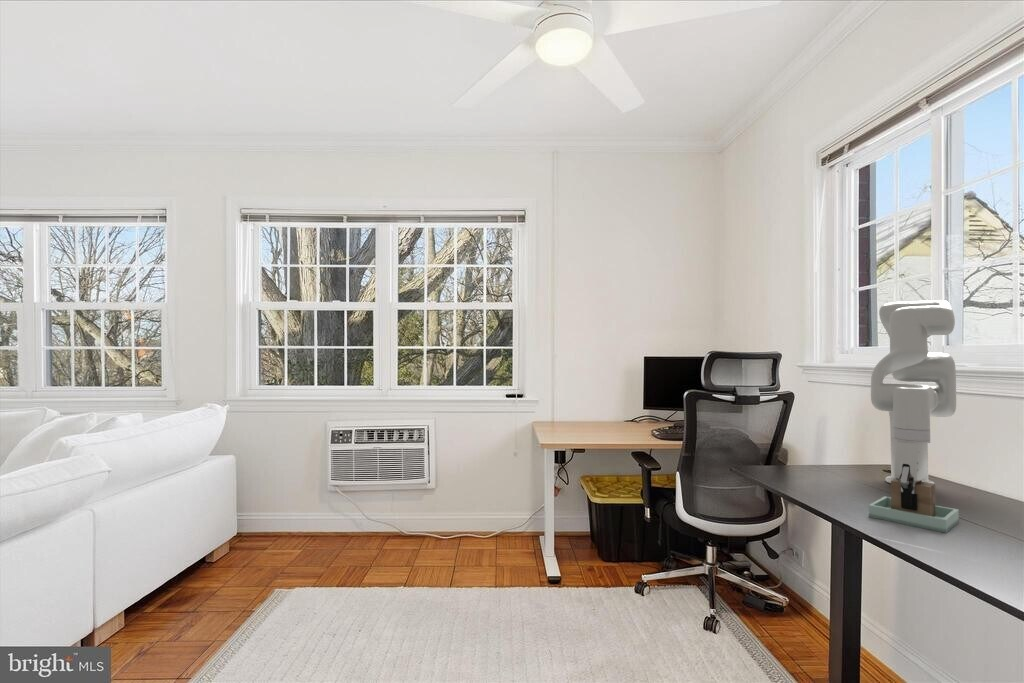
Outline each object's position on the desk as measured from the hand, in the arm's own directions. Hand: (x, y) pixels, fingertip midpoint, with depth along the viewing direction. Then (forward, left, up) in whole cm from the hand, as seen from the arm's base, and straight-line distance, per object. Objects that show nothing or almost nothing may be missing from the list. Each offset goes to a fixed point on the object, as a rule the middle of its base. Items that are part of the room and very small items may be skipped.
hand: (912, 506), depth 132 cm
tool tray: (0, 0, -3) cm, 3 cm away
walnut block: (0, 0, -2) cm, 2 cm away
